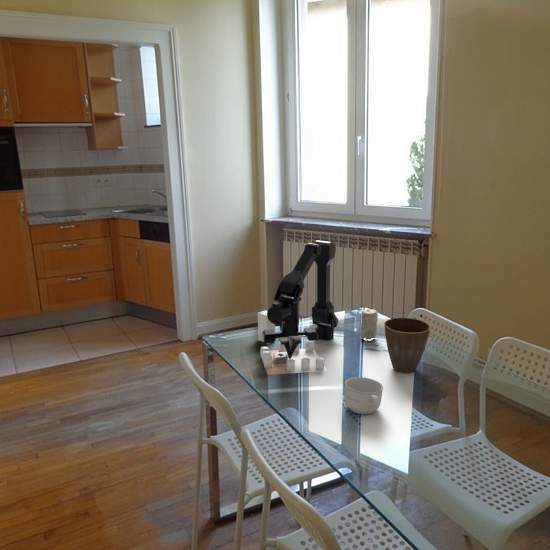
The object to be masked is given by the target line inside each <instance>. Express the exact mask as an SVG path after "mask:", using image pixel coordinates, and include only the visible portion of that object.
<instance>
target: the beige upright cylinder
mask: <svg viewBox="0 0 550 550" xmlns="http://www.w3.org/2000/svg"><path fill="white" fill-rule="evenodd" d="M378 317H379V315H378V312H377V310H375V309H373V308H372V309H367V308H366V309H365V308H364V309H362V310H361V321H360V322H361V323H360V329H359V330H360V331H359V333H360V334H359V335H360V336H359V337H360V339H361V338H366V339H371V338H375V337H376V338H377V334H378V333H377V331H378V321H379V320H378ZM376 338H375V339H376Z"/></svg>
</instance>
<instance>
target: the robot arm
mask: <svg viewBox="0 0 550 550" xmlns="http://www.w3.org/2000/svg"><path fill="white" fill-rule="evenodd" d="M336 250H337V247H336V244H334V242H332V241H327V240H318V239H317V240H315V241H314V242H308V243H306V244H305V246H304V250H303V251H302V254H301V255H300V257H299V258H298V261H296V264H295V265H294V266H293V269H292V270H291V272H289V273H288V274H285V275H284V277H283V278H282V279H281V281H280V282H279V283H278V286H277V289H276V293H275V295H274V298H273V301H275V302H273V303H272V304H271V305H272V306H271V307H269V309H267V311H268V312H267V317H268V320H269V321H270V322H271V323H273V324H274V325H275V328H276V327H279V330H280V332H276V333H275V332H274V330H264V331H263V332H262V338H263V341H264V342H263V343H264V344H267V343H269V344H274V343H276V342H275V341H277V339H278V342H280V343H281V344H284V346H285V348H286V352H287V355H288V358H289V359H291V357H292V355H293V353H294V351H295V349H296V347H297V346H298V344H302V338H306V339H307V340H309V341H313V342H314V341H318V340H321V341H330V340H332V339H334V337H335V336H334V333H335V332H334V331H335V328H337V327H338V324H339V319H338V317H337V315H336V314H335V307H334V305H333V303H332V302H331V298H330V297H331V296H330V295H331V263H332V262H333V261H334V259H335V255H336ZM314 263H315V264H316V302H315V304H314V305H313V306H312V307H311V320H312V325H316V326H315V327H304V328H303V331H299V324H300V321H299V319H300V318H299V311H300V301H302V298H301V296H302V295H303V292H304V288H305V278H306V277H307V275H308V273H309V271H310V269H311V268H312V266H313V264H314ZM289 339H290V340H289Z"/></svg>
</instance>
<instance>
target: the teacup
mask: <svg viewBox="0 0 550 550" xmlns="http://www.w3.org/2000/svg"><path fill="white" fill-rule="evenodd" d="M383 390H384V385H383V384H382V383H381V382H380V381H378V380H376V379H372V378H368V377H361V376H360V377H359V376H356V377H350V378H348V379H346V380H345V381H344V403H345V405H346V407H348V408H349V409H350V411H352V412H353V413H355V414H360V415H370V414H372V413H374V412H376V411H377V410H378V409H379V408H380V406H381V404H382V403H381V402H382V397H383Z"/></svg>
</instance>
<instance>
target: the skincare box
mask: <svg viewBox="0 0 550 550" xmlns="http://www.w3.org/2000/svg"><path fill="white" fill-rule="evenodd" d="M267 312H268V310H266V309H265V310H263V311H258V312H257V334H258V338H257V339H258V342H259V341H260V342H262V343H264V341H263V338H262V332H263V331H264V330H274V332H275V333H277V332H276V331H277V330H276V327H275V325H274V324H273V323H271V322H270V321H269V320H268V317H267ZM276 341H277V340H276ZM276 341H275V342H274V343H276ZM266 344H267V345H268V344H270V343H266Z"/></svg>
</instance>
